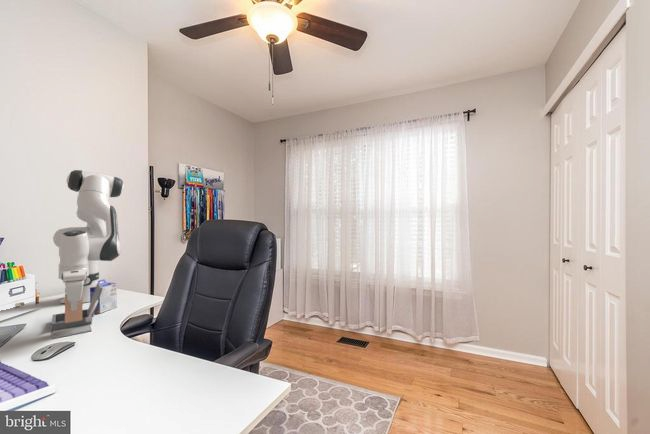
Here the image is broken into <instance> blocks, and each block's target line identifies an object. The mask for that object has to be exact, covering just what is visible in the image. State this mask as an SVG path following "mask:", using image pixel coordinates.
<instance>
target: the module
mask: <svg viewBox="0 0 650 434" xmlns="http://www.w3.org/2000/svg"><path fill="white" fill-rule="evenodd" d="M64 298H65V303H64V313H65V320H64V321H65V323H69V322H75V321H80V320H82V318H83V317H82V310H83V307H84V306H83V294H82V297H81V300H80V301H78V303H77V310H74V311H71V304H70V302H68V300H67V294H66V293H65V294H64Z"/></svg>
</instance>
